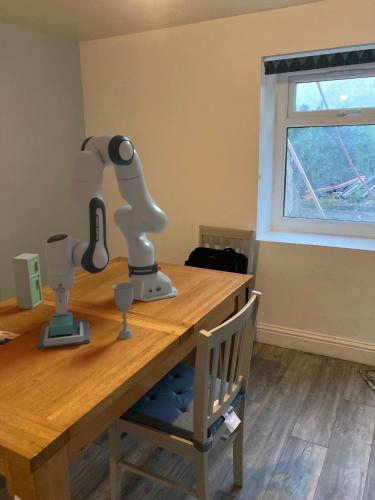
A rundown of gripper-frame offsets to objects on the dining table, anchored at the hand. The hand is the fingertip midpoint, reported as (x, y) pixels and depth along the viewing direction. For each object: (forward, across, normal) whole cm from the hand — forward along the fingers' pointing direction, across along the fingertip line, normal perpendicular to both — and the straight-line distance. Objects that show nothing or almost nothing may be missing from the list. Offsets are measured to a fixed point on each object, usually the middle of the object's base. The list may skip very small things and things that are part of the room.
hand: (64, 316), depth 142 cm
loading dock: (+4, -8, -1) cm, 9 cm away
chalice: (+3, -15, -21) cm, 26 cm away
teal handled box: (+2, -9, 0) cm, 9 cm away
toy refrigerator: (+3, +22, +14) cm, 27 cm away
